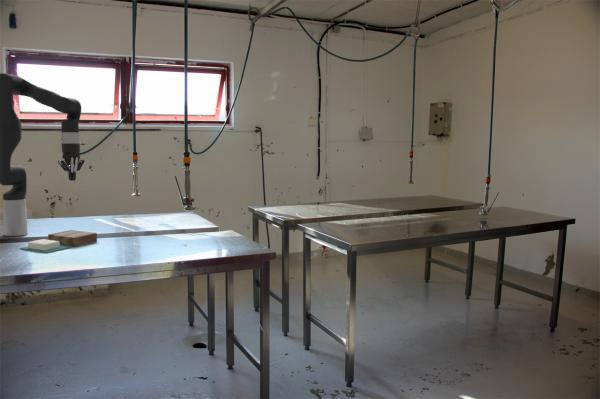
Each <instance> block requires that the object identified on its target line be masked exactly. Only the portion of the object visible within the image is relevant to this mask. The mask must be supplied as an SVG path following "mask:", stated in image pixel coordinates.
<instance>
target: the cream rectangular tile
mask: <svg viewBox="0 0 600 399" xmlns="http://www.w3.org/2000/svg"><path fill="white" fill-rule="evenodd" d="M27 247H28V248H31V249H38V250H49V249H54V248H58V247H60V241H54V240H48V239H45V238H42V239H37V240H32V241H28V242H27Z"/></svg>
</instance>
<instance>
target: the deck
mask: <svg viewBox="0 0 600 399" xmlns="http://www.w3.org/2000/svg"><path fill="white" fill-rule="evenodd" d="M97 234H98V233H97V232H91V231H81V230H73V229H69V230H64V231H59V232H54V233H48V235H47V240H54V241H60V245H67V246H73V247H72V248H75V247H76V248H77V247H81V246H85V245H88V244H93V243H97V242H98V235H97Z"/></svg>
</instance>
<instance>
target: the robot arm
mask: <svg viewBox="0 0 600 399" xmlns="http://www.w3.org/2000/svg"><path fill="white" fill-rule="evenodd" d="M13 96H23V97H28V98H30V99H33V100H34V101H35V102H37V103H38V104H40V105H43V106H46V107H49V108H52V109H53V110H55V111H57V112H60V113H61V114H66V118H65V119H62V120H61V123H60V124H61V127H60V128H61V129H60V130H61V135H60V136H61V153H62V157H61V159H60V160H58V161H57V163H58V164H59V165H60V167H61V169H62V170H63V171H64V172H67V173H68V180H69V181H76V179H77V172H78V171H79V172H80V170H81V168H82V167H83V165H84V163H85V159H82V158H81V155H80V153H81V138H80V131H79V130H80V128H79V127H80V126H79V122H80V120H81V119H80V118H81V114H82V105H81V102H80V101H79V100H78V99H76V98H73V97H72V98H71V97H65V96H61V95H60V94H59V93H57V92H55V91H52V90H49V89H47V88H43V87H41V86H38V85H36V84H34V83H32V82H30V81H28V80H27V79H25V78H24V77H23V78H22V77H21V76H19V75H16V74H12V73H11V74H10V73H4V72H3V73H0V185H1V186H5V187H6V186H12V187H11V189H10V190H8V191H6V192H4V193H3V194H2V203H3V205H2V206H3V215H2V220H3V221H2V223H3V224H2V225H3V234H4V236H6V237H19V236H24V235H28V216H27V199H26V197H27V189H28V188H27V187H28V185H27V183H28V182H27V181H28V180H27V179H28V178H27V171H26V168H25V167H24V166H23V165H18V164H17V165H11V160H12V156H13V153H14V152H15V150H16V149H17V147H18V146H19V144H20V142H21V141H22V123H21V120H20V118H19V116H18V114H17V113H16V111H15V108H14V106H13Z"/></svg>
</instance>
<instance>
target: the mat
mask: <svg viewBox="0 0 600 399" xmlns="http://www.w3.org/2000/svg"><path fill="white" fill-rule="evenodd" d="M72 248H74V247H73V246H67V245H60V247H58V248H54V249H49V250H38V249H31V248H28V246H23V247H20V248H19V249H20V250H23V251H29V252H36V253H43V254H49V253H54V252H59V251H63V250H68V249H72Z"/></svg>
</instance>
